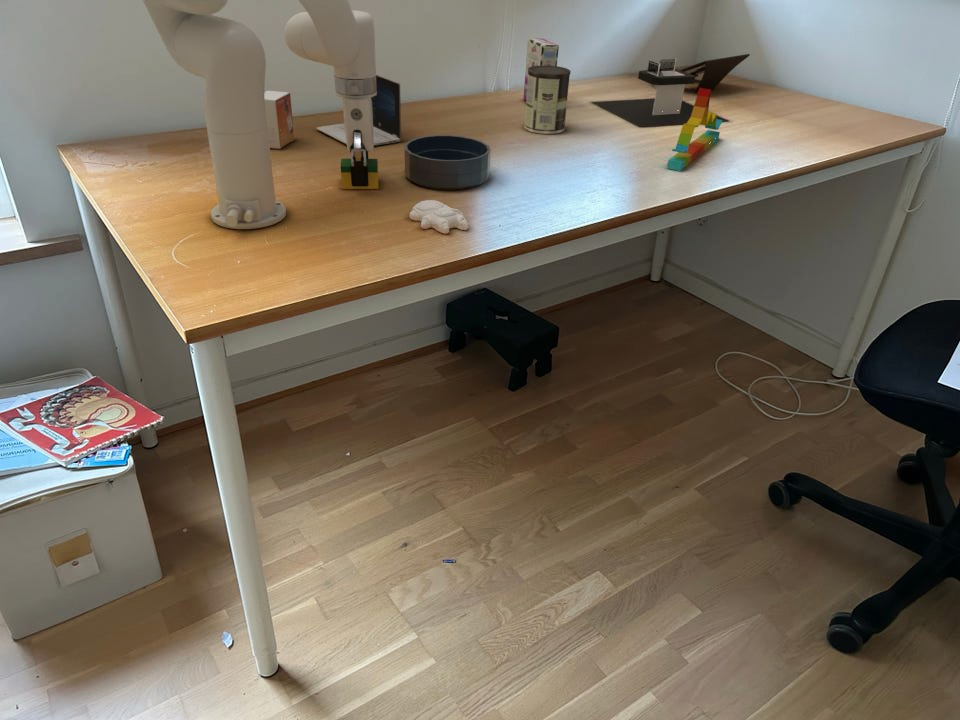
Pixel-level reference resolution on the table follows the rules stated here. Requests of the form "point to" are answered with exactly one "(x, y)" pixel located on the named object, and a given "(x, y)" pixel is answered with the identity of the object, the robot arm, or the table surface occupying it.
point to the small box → (279, 118)
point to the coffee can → (546, 99)
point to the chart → (698, 146)
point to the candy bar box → (540, 56)
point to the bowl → (447, 161)
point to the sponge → (371, 174)
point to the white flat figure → (438, 216)
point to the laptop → (378, 115)
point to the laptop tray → (714, 70)
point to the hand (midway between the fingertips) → (360, 177)
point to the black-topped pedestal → (657, 98)
